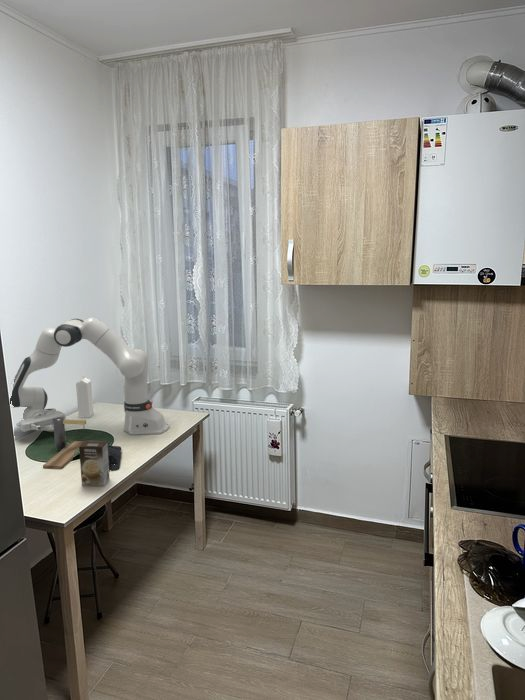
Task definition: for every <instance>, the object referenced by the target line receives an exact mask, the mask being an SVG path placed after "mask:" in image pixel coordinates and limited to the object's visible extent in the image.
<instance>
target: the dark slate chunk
mask: <svg viewBox="0 0 525 700" xmlns="http://www.w3.org/2000/svg"><path fill="white" fill-rule="evenodd" d="M121 459H122V447H121V446H119V445H109V444H108V460H109V472H113V471H117V469H118V470H119V469H120V467H121V466H120V465H121ZM114 464H115V465H114ZM110 470H111V471H110Z"/></svg>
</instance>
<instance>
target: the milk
mask: <svg viewBox="0 0 525 700" xmlns="http://www.w3.org/2000/svg"><path fill="white" fill-rule="evenodd" d="M75 388H76V398H77V399H76V400H77V411H78V413H77V414H78V418H79V419H81V418H84V419H85V418H87V419H89V418H91V417H92V416H93V415H94V406H93V405H94V403H93V402H94V401H93V390H92V380H91V379H89V378H87V377H86V374H84V375H83V376H81V378H80V380H78V382H76V383H75Z"/></svg>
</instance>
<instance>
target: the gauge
mask: <svg viewBox="0 0 525 700" xmlns="http://www.w3.org/2000/svg"><path fill="white" fill-rule="evenodd" d="M86 424H87V420H86V419H67V418H66V419H64V418H63V417H57V418H54V419H53V425H52V426H53V435H54V437H53V438H54V446H55V450H56V449H63V448H65V447H66V446H67V439H66V425H79V426H80V425H81V426H82V429H83V430H85V429H86V427H85V426H86Z"/></svg>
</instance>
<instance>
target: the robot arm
mask: <svg viewBox="0 0 525 700" xmlns="http://www.w3.org/2000/svg"><path fill="white" fill-rule="evenodd" d="M37 339H38V340H37V342H36V345H35V349H34V350H33V352H32V353H31V354H30V355H29V356H27V357H25V358H24V359H23V361H22V363H21V365H20V367H18V371H17V373H15V374H16V375H15V376H14V378H15V379H14V378H13V380H14V384H13V390H12V396H11V398H10V404H11V401H12V405H13V406H14V407H13V408H20V407H27V408H26V409H25V410H24V413H23V419H24V420H23V419H21V420H19V421H18V422H17V423H16V427H19V429H20V431H22V432H29V431H32V430H35V431H39V430H41V428H45V427H48V426H53V419H54V418H57V417H63V418H64V419H67V418H66V414H65V413H64V412H62V411H60V410H57V409H56V408H53V407H52V408H46V407H47V404H48V399H49V398H48V393H47V392H46V391H45V389H44V388H43V387H38V386H35V387H33V386H31V387H30V386H24V385H25V383H26V381H27V379H28V377H29V375H31V374H32V373H35V372H37V371H40V370H43V369H47V368H50V367H52V366H54V365H55V364H57V361H58V360H59V357H60V353H61V350H62V348H64V347H66V348H68V347H72V346H73V345H76V344H77V343H79V342H80V341H82V340H87V341H89V342H90V343H91V344H92V345H93V346H95V347H96V348H97V349H99V350H100V351H101V352H102V353H103V354H104V355H106V356H107V357H108V358H109V360H111V362H112V363H113V364H114V365H115V366H116V368H118V370H119V372H120V373H121V375H122V376H124V385H123V390H124V391H123V392H124V393H123V394H124V402H123V409H124V424H123V428H122V429H123V431H124V432H127V433H128V434H129V435H131V436H132V435H133V436H135V435H139V436H140V435H160V434H163V433H165V432H166V431H168V430H169V428H170V423H169V422H167V421H166V420H165V417H164V414H162V413H161V412H160V411H158V410H157V409H156V408H154V407H153V400H151V401H150V400H149V397H148V396H149V395H148V379H149V378H148V375H149V373H148V370H149V358H148V357H149V356H148V354H147V352H146V351H144V350H143V349H140V348H135V349H134V348H133V349H132V348H131V347H130V346H129V345H128V344H127V343H126V341H125V339H124V338H123V337H122V336H121V335H119V334H118V333H117V332H116V331H114V330H113V329H112V328H111V327H110V326H108V325H107V324H105V323H104V322H103V321H101V320H99V319H97V318H96V317H88V318H86V319H85V320H83V319H80V318H71V319H70V320H67V321H64V322H63V323H62V324H60V325H58V326H57V327H56V328H55V327H46V328H44V329H43V330H42V331H41V333H40V335H39V337H38V338H37Z"/></svg>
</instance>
